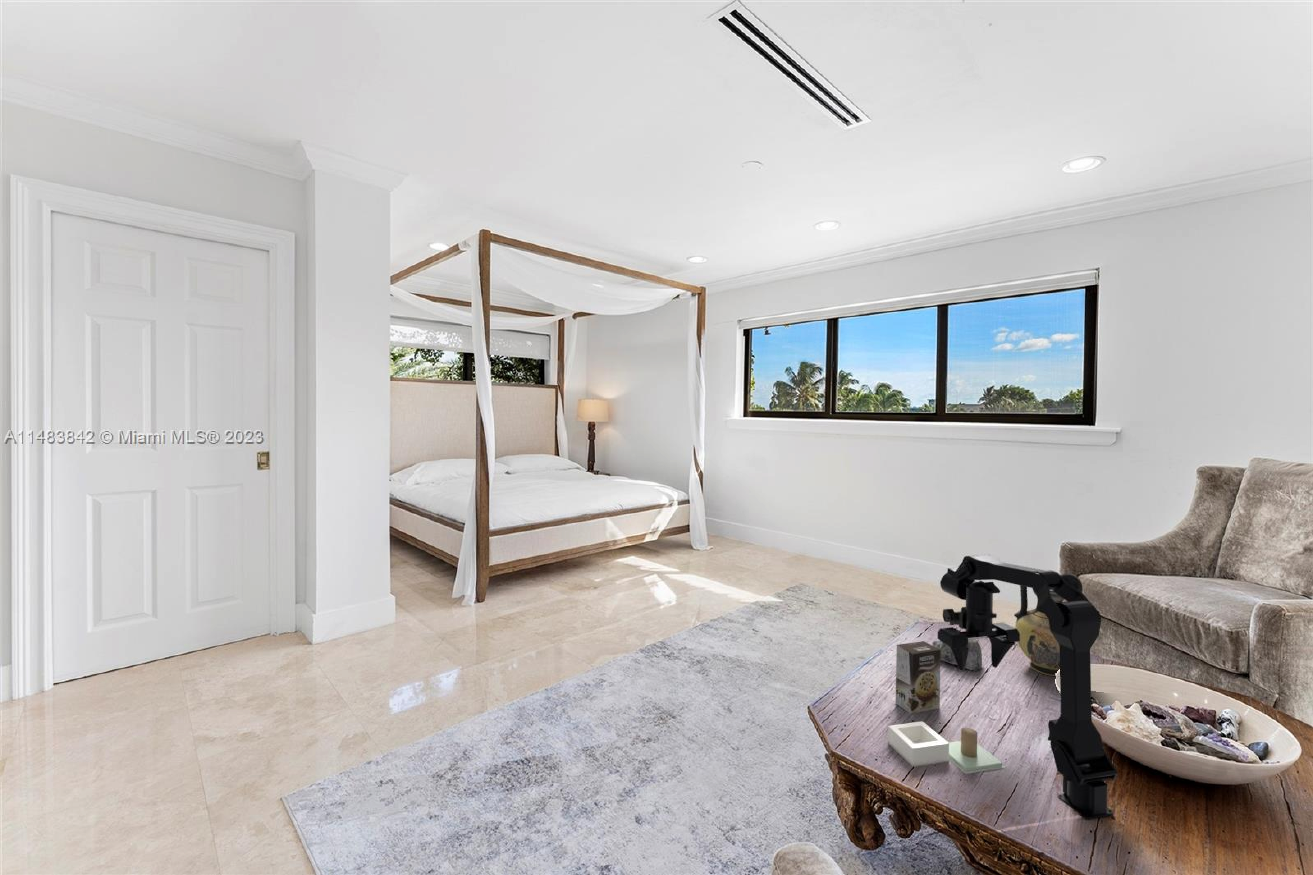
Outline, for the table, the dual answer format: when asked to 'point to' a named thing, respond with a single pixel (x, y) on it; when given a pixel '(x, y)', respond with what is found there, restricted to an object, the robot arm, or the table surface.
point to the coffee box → (918, 677)
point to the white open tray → (918, 743)
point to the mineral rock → (972, 659)
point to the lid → (971, 753)
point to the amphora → (1040, 631)
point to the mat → (976, 770)
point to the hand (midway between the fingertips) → (978, 668)
